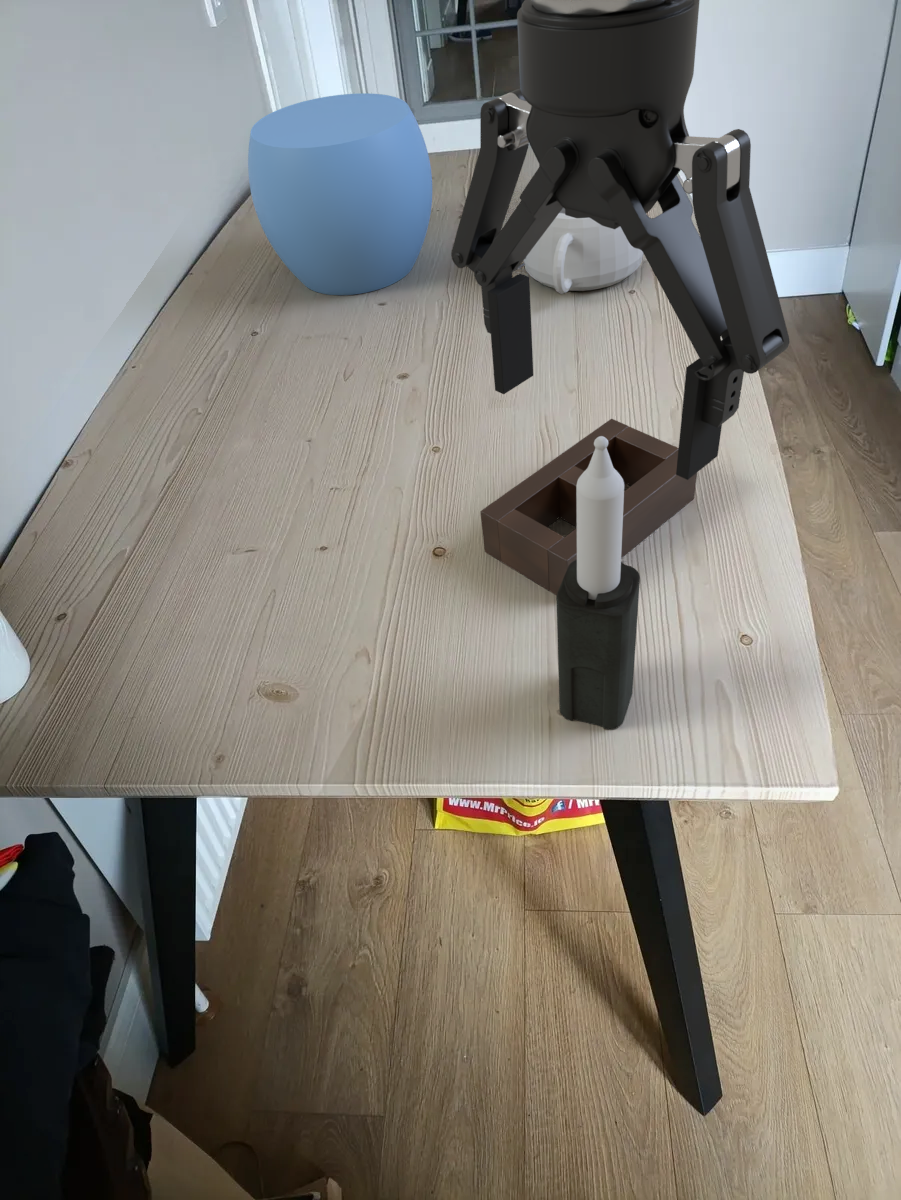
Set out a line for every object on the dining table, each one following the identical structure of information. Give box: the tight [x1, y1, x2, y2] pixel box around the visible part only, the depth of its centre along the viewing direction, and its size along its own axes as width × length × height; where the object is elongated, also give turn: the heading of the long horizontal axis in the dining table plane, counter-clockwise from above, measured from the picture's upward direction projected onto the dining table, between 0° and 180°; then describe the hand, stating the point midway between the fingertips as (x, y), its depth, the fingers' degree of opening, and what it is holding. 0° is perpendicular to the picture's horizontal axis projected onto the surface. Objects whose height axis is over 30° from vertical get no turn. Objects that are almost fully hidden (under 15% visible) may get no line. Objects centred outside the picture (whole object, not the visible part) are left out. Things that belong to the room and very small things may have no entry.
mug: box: [523, 208, 644, 295], centre depth 117 cm, size 21×17×10 cm
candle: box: [555, 436, 641, 730], centre depth 61 cm, size 5×5×25 cm
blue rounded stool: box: [247, 92, 433, 296], centre depth 123 cm, size 25×25×20 cm
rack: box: [480, 418, 698, 596], centre depth 82 cm, size 10×19×5 cm, turn 134°
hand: (598, 421), depth 51 cm, fingers open, 13 cm apart
